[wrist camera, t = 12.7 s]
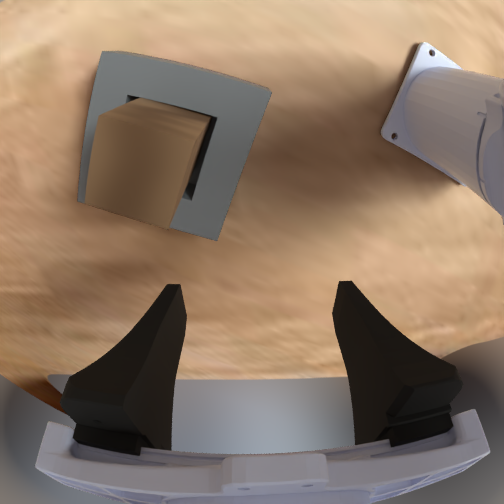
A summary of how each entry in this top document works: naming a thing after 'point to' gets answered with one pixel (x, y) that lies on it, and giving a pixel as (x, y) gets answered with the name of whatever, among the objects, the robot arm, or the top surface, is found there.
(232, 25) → the top surface
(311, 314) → the top surface
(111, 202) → the walnut peg
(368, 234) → the top surface
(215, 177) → the socket block
